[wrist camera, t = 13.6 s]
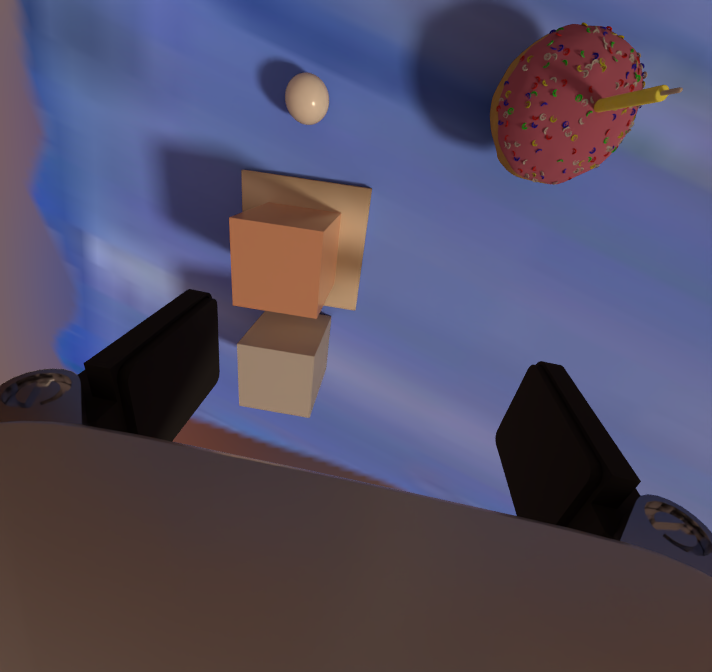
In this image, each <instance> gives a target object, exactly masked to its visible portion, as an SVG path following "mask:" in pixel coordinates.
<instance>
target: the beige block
mask: <svg viewBox="0 0 712 672" xmlns="http://www.w3.org/2000/svg"><path fill="white" fill-rule="evenodd" d="M330 326H331V316H327V315H321V314H319V315H318V317H317V319H314V318H308V317H302V316H295V315H289V314H283V313H277V312H271V311H265V312H264V313H263V314H262V315H261V316H260V317H259V319H258V320H257V321H256V322H255V323H254V325H253V326H252V327H251V328H250V329H249V330H248V332H247V333H246V334H245V335H244V336H243V337H242V339H241V340H240V341H239V342H238V343H237V354H238V382H239V406H245V407H250V408H256V409H262V410H268V411H273V412H279V413H285V414H291V415H296V416H302V417H308V418H310V415H311V412H312V409H313V406H314V403H315V400H316V397H317V394H318V391H319V388H320V385H321V382H322V380H323V377H324V374H325V371H326V365H327V355H328V345H329V335H330Z"/></svg>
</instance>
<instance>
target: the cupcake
mask: <svg viewBox="0 0 712 672" xmlns="http://www.w3.org/2000/svg"><path fill="white" fill-rule="evenodd" d="M608 28H610V29H608ZM551 32H552V33H551ZM623 38H624V36H622V35H619V36H618V35H617V34H615V33H614V32H612V28H611V27H610V26H607V27H602V26H588V25H587V24H586V23H582V25H578V24H571V25H567V26H564V27H561V28H559V29H557V30H551V31H550V33H549V34H547V35H545V36H544V37H542V38H541V39H539V40H538V41H536V42H535V43H533V44H532V45H531V46H529V47H528V48H527V49H526V50H525V51H524V52H522V53H521V54H520V55H519V56H518V57H517V58H516V59H515V60H514V61H513V62H512V63H511V64H510V66H509V67H508V69H507V71H506V72H505V74H504V76H503V78H502V80H501V81H500V83H499V85H498V87H497V89H496V91H495V93H494V95H493V98H492V102H491V109H490V125H491V133H492V137H493V140H494V143H495V147H496V151H497V157H498V159H499V161H500V163H501V164H502V165H503V166H504V167H505V169H506V170H507V171H509V172H510V173H511V174H513V175H515V176H517V177H519V178H523V179H527V180H531V181H533V182H540V183H546V184H553V185H554V184H559V183H562V182H565V181H567V180H570V179H572V178H574V177H576V176H578V175H580V174H582V173H585V172H587V171H589V170H591V169H593V168H597V167H599V166H600V165H599V164H601V163H602V162H603V161H604V160H605V159H606V158H607V157H609V156H610V154H611V153H612V152H614V151H615V150H616V149H617V148H618V146H619V144H620V143H621V142H622V140H623V138H624V137H625V135H626V134H627V133H629V132H630V131H631V129H629V128H631V127H632V126H633V125H634V122H633V121H634V119H635V116H636V113H637V110H638V108H641V105H644V104H650V103H655V102H660V101H663V100H664V99H665V98H666V97H667V96H668V95H670V94H675V93H679V92H681V91H682V90H683V88H674V89H669V88H668V86H667V85H661V86H656V87H652V88H647V89H643V88H644V86H645V82H644V81H643V79H645V78H646V77H647V72H643V73H642V69H643V68H644V64H642V63H640V60H639V59H640V57H641V54H640V53H637V52H636V51H635V49H634V48H633V47H632V46H631V45H630V44H629V43H627V42H626V41H625V40H624V39H623ZM638 55H639V56H638ZM643 74H644V75H643ZM645 74H646V75H645ZM643 76H644V77H643ZM643 84H644V85H643ZM631 125H632V126H631ZM596 166H597V167H596Z"/></svg>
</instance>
